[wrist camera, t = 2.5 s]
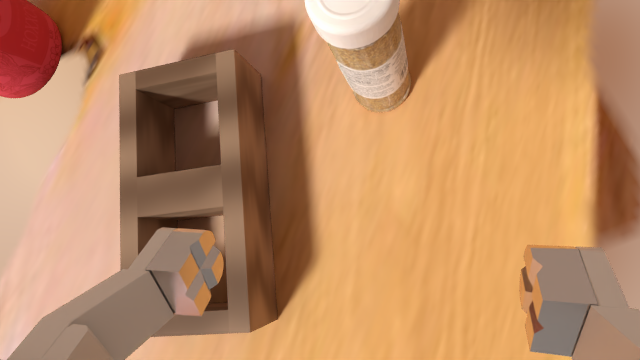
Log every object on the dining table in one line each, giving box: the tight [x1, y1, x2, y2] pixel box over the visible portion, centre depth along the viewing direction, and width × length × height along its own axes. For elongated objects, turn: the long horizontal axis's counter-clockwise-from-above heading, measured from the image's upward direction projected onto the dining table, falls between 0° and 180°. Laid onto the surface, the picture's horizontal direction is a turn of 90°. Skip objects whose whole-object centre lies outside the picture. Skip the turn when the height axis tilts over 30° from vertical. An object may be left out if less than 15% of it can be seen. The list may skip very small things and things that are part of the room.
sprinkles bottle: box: [305, 0, 411, 112], centre depth 26 cm, size 5×5×13 cm
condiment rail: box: [119, 49, 278, 337], centre depth 33 cm, size 20×10×5 cm, turn 6°
